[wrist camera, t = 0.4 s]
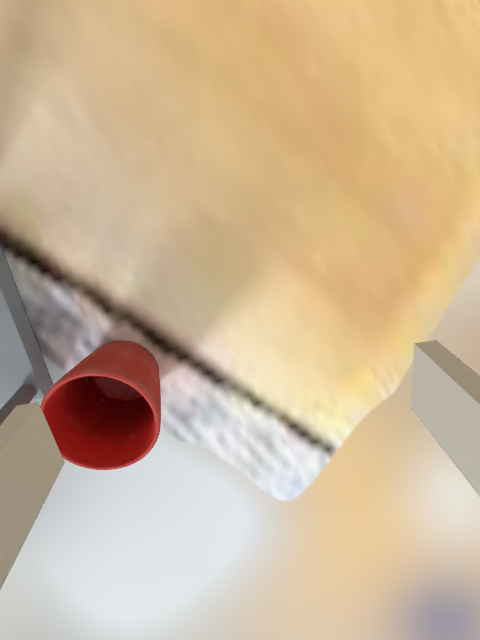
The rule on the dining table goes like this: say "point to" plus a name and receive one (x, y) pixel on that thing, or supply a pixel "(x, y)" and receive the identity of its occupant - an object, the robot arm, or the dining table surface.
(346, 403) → the dining table surface
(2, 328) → the socket board
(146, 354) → the flower pot
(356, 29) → the dining table surface
